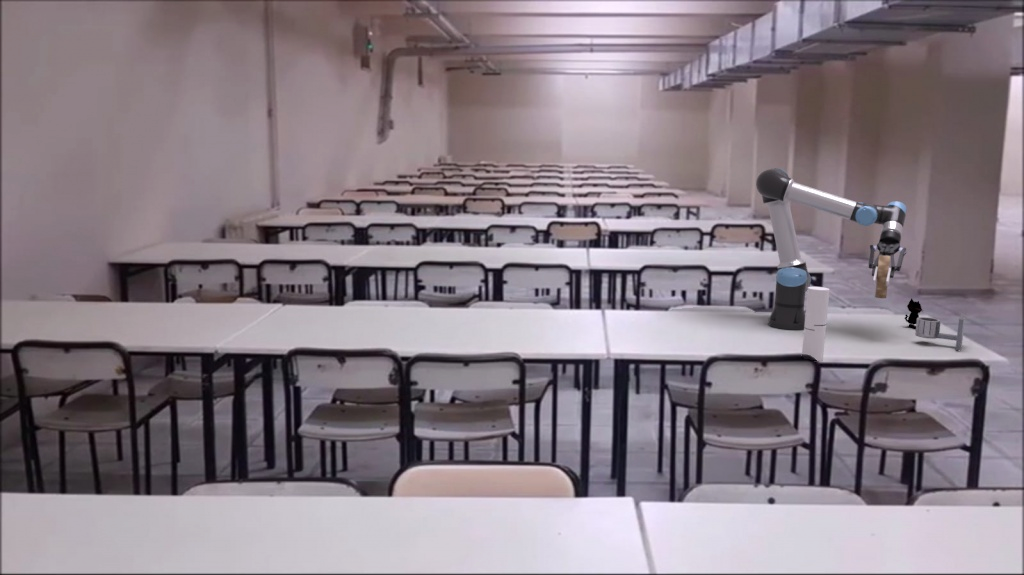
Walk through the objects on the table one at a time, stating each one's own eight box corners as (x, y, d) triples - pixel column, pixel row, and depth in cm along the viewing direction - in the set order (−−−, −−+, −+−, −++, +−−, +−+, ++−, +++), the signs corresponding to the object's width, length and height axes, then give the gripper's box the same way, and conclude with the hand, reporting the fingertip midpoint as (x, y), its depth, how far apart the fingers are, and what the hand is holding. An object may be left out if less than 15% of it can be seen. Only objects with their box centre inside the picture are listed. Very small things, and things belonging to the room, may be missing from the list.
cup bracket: (912, 345, 343) (916, 314, 341) (916, 339, 353) (919, 309, 351) (959, 351, 335) (963, 319, 333) (961, 345, 345) (965, 314, 343)
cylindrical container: (824, 361, 313) (830, 290, 309) (802, 360, 315) (809, 289, 310) (821, 356, 320) (827, 287, 316) (800, 355, 322) (806, 286, 317)
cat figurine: (924, 329, 371) (927, 301, 369) (908, 329, 371) (911, 300, 369) (915, 325, 378) (918, 297, 376) (899, 325, 378) (903, 297, 376)
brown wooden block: (874, 297, 348) (878, 256, 345) (875, 296, 351) (879, 255, 348) (885, 298, 346) (889, 257, 343) (886, 297, 349) (890, 256, 346)
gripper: (914, 243, 354) (905, 291, 343) (868, 239, 362) (857, 286, 351) (914, 231, 348) (904, 279, 337) (867, 227, 357) (856, 274, 345)
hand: (880, 282), depth 344 cm, fingers closed on brown wooden block, 4 cm apart
